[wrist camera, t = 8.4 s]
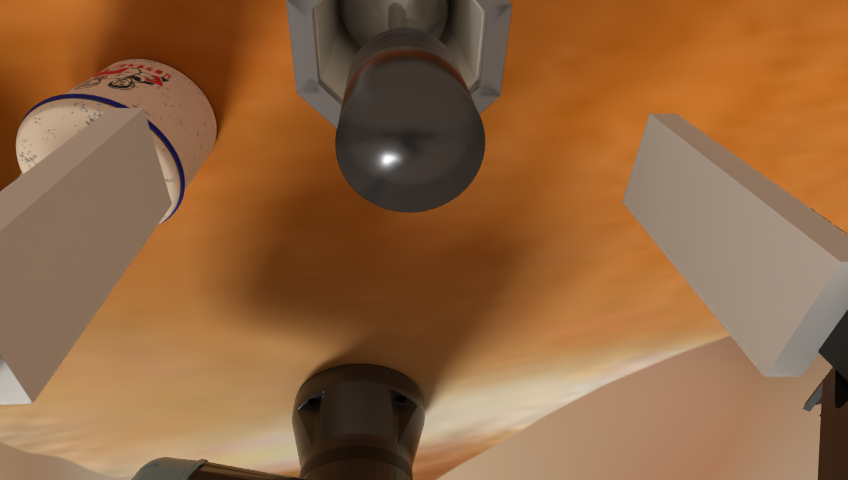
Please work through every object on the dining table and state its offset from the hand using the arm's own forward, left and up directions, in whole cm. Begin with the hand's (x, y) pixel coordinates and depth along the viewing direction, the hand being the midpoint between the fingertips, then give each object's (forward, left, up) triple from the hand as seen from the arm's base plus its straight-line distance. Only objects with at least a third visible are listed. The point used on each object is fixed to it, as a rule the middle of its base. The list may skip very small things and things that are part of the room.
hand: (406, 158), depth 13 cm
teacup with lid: (-9, +19, -24) cm, 32 cm away
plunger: (0, 0, -20) cm, 20 cm away
